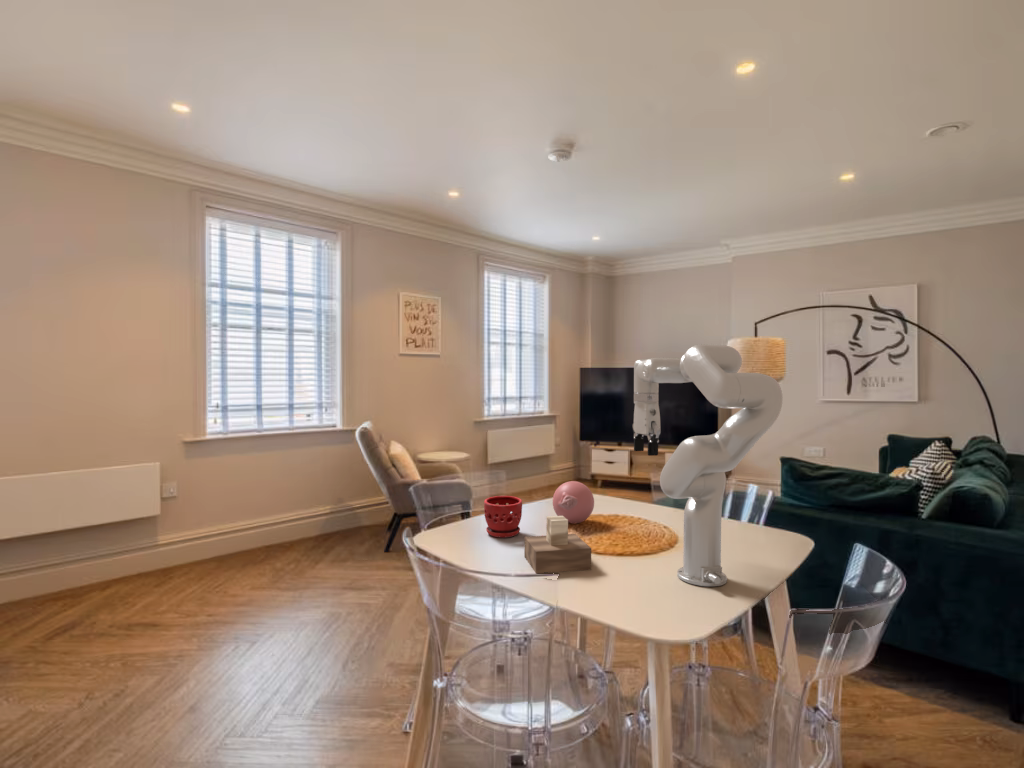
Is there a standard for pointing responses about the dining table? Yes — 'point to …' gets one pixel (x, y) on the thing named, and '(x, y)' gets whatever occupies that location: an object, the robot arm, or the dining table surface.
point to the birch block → (557, 530)
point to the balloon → (573, 501)
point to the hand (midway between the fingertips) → (645, 453)
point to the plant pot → (503, 515)
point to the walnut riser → (557, 554)
